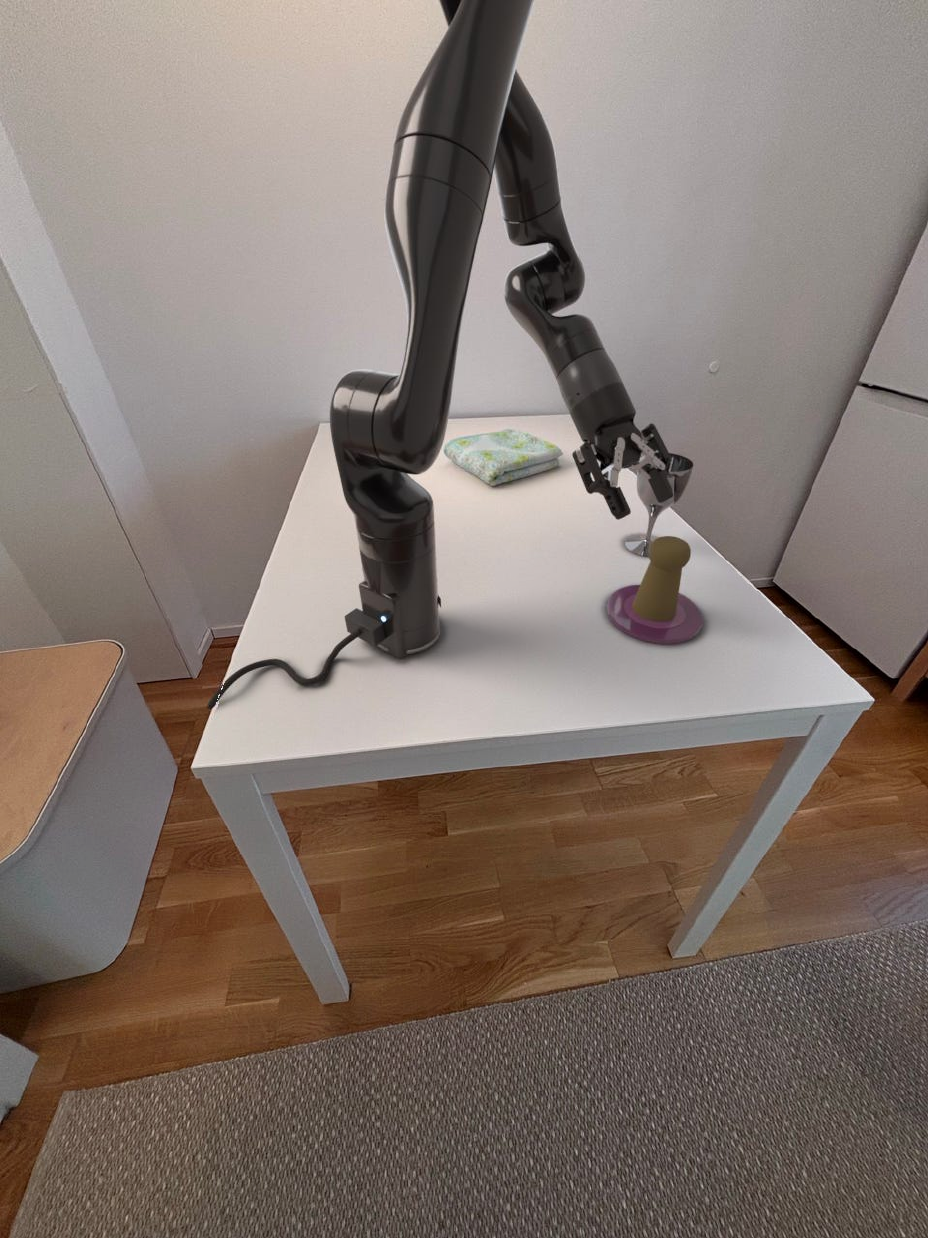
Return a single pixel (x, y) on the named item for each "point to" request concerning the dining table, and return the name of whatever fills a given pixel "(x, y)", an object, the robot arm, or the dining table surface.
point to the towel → (503, 455)
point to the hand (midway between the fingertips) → (646, 508)
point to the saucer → (651, 631)
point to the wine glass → (678, 479)
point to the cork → (662, 579)
